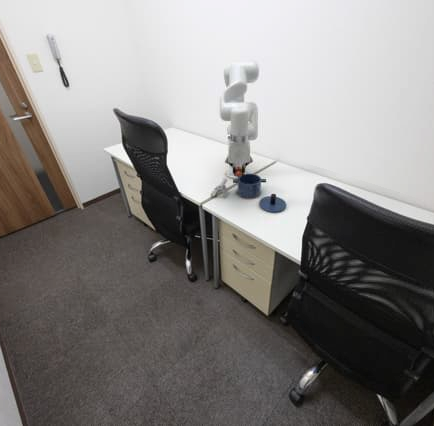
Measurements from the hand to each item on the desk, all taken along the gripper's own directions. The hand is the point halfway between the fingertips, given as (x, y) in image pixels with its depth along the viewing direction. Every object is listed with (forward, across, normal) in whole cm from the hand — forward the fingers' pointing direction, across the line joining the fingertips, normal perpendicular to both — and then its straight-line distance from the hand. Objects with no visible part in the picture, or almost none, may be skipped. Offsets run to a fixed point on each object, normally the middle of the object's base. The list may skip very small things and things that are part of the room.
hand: (238, 174), depth 115 cm
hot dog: (0, 0, 0) cm, 0 cm away
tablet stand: (+17, -10, +8) cm, 21 cm away
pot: (+17, +6, +9) cm, 20 cm away
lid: (+16, +18, -4) cm, 24 cm away
